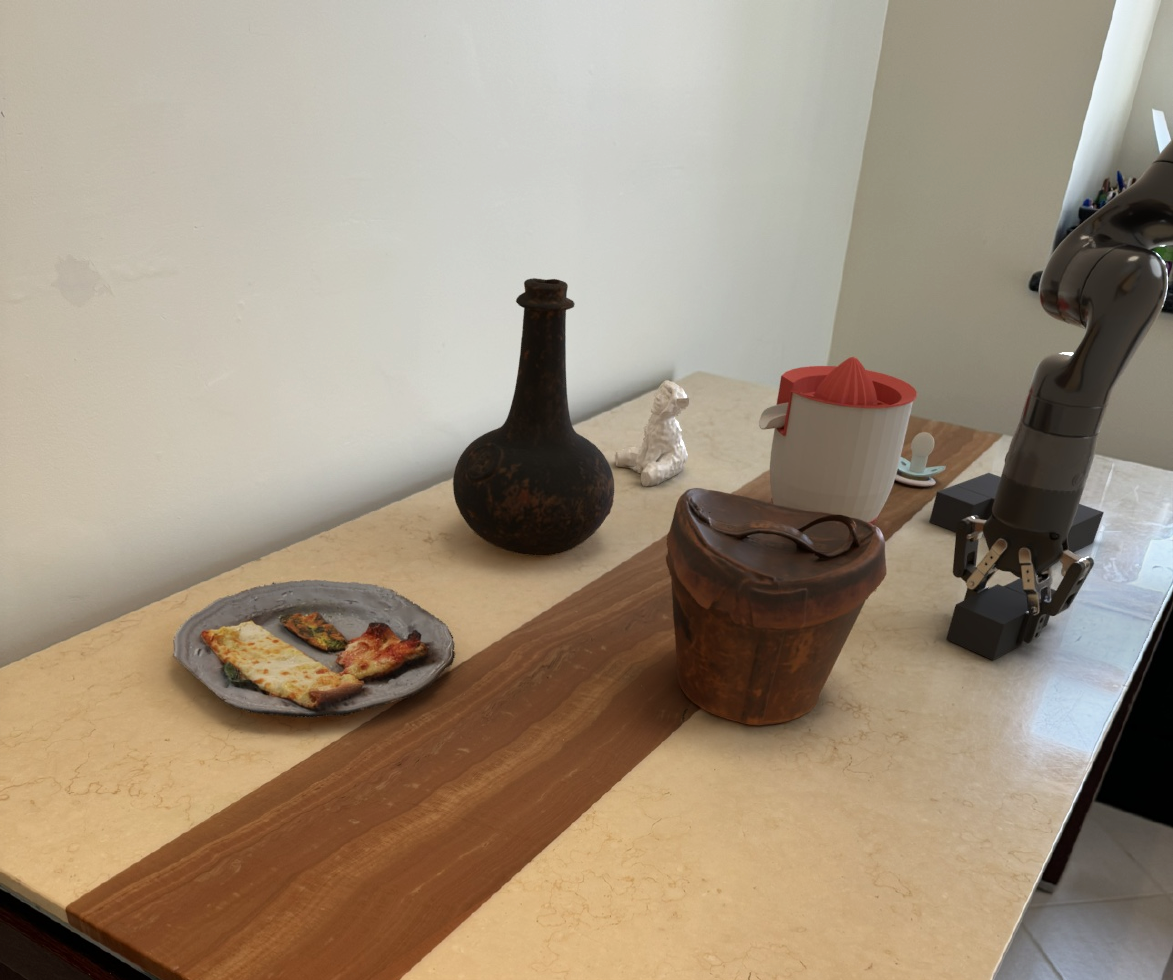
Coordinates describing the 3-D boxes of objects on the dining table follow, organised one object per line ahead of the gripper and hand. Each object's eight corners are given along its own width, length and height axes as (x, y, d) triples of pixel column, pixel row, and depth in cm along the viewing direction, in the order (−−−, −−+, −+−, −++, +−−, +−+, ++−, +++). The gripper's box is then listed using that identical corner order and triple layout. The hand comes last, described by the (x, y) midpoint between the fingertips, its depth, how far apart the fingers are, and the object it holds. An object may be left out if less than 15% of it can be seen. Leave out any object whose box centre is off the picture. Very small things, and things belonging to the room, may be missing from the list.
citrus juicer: (735, 497, 142) (758, 335, 130) (868, 502, 143) (902, 342, 132) (755, 547, 129) (782, 372, 118) (900, 552, 130) (941, 380, 119)
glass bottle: (425, 528, 128) (418, 268, 112) (550, 500, 138) (560, 256, 121) (512, 587, 117) (518, 307, 101) (641, 552, 127) (665, 291, 110)
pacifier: (932, 493, 148) (944, 479, 152) (943, 448, 144) (956, 434, 148) (880, 481, 150) (893, 467, 155) (889, 436, 147) (903, 423, 151)
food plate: (502, 677, 102) (502, 643, 100) (278, 766, 88) (273, 730, 86) (351, 581, 116) (348, 549, 114) (138, 645, 103) (131, 611, 101)
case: (898, 713, 101) (947, 527, 90) (719, 766, 92) (750, 567, 82) (779, 628, 113) (809, 456, 103) (611, 668, 104) (626, 485, 94)
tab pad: (1052, 627, 116) (1064, 593, 114) (993, 660, 110) (1004, 624, 107) (1006, 608, 120) (1016, 574, 117) (945, 639, 113) (955, 604, 111)
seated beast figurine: (610, 463, 150) (616, 373, 143) (664, 456, 153) (673, 367, 146) (645, 488, 143) (654, 394, 136) (701, 480, 146) (712, 388, 139)
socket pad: (1093, 542, 136) (1104, 512, 134) (1044, 566, 130) (1054, 534, 127) (980, 501, 146) (988, 472, 143) (929, 521, 139) (936, 491, 137)
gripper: (1136, 488, 102) (1078, 649, 112) (998, 443, 110) (956, 597, 120) (1097, 505, 98) (1041, 671, 108) (957, 458, 106) (917, 615, 116)
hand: (996, 631), depth 114 cm, fingers closed on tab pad, 5 cm apart
